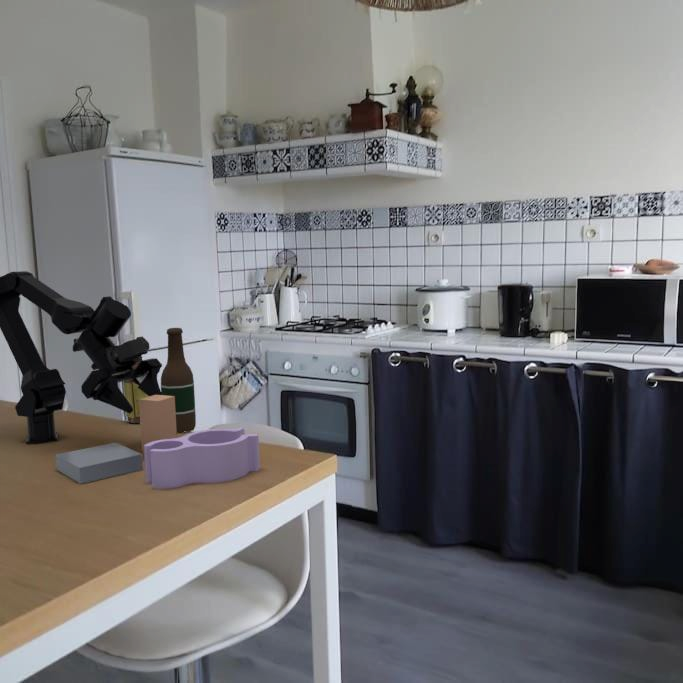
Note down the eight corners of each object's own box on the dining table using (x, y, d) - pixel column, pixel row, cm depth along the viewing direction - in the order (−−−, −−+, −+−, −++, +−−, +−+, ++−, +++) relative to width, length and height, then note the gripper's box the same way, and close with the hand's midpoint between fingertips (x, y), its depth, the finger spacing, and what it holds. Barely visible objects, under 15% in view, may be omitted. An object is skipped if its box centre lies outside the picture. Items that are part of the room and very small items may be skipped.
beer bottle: (167, 435, 157) (161, 330, 154) (159, 428, 164) (153, 328, 161) (200, 430, 161) (195, 328, 158) (191, 423, 168) (186, 325, 165)
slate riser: (56, 469, 133) (55, 454, 133) (116, 456, 141) (115, 442, 141) (80, 484, 124) (79, 467, 124) (142, 469, 132) (141, 454, 132)
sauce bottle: (156, 418, 174) (152, 340, 172) (147, 424, 168) (142, 343, 166) (131, 418, 175) (126, 340, 173) (121, 424, 169) (116, 344, 167)
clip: (160, 495, 118) (157, 456, 117) (139, 476, 128) (137, 440, 127) (266, 474, 128) (264, 437, 127) (239, 458, 139) (237, 424, 138)
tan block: (142, 457, 140) (138, 399, 139) (158, 450, 145) (155, 394, 143) (161, 459, 138) (158, 401, 137) (177, 453, 143) (174, 396, 141)
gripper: (87, 330, 133) (135, 389, 130) (152, 321, 150) (196, 373, 147) (61, 369, 138) (106, 427, 134) (127, 356, 155) (169, 407, 151)
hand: (147, 407), depth 142 cm, fingers open, 9 cm apart
